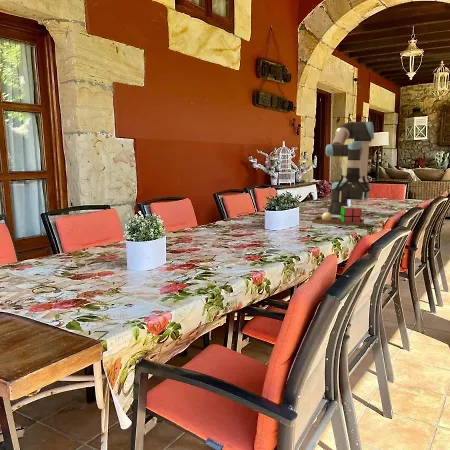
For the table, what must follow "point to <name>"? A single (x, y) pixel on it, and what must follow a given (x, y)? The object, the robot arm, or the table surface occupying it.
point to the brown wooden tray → (337, 221)
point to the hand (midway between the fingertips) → (351, 202)
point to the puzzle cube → (350, 214)
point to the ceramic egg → (326, 216)
